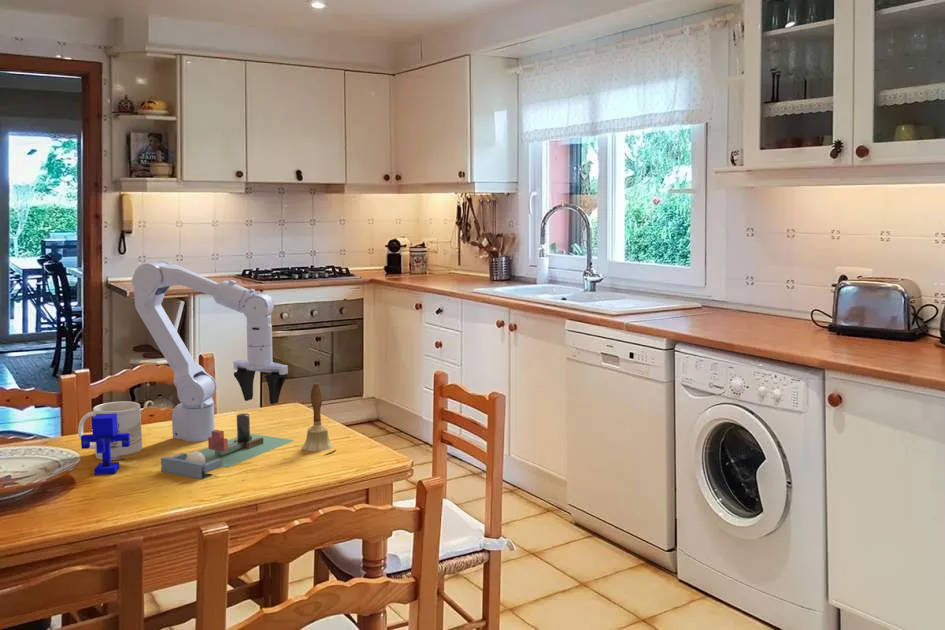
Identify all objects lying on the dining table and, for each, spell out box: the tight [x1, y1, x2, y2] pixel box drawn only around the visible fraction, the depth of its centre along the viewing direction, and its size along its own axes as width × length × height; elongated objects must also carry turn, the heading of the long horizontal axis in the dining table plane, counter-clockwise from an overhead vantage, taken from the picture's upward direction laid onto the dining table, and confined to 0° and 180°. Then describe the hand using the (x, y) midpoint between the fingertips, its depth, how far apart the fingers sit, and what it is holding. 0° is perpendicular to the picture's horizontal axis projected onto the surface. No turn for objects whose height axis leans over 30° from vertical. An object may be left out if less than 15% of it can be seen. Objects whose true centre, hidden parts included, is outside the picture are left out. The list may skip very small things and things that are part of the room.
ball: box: [186, 450, 205, 463], centre depth 179 cm, size 4×4×4 cm
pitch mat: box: [187, 433, 295, 468], centre depth 191 cm, size 14×23×1 cm, turn 155°
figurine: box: [80, 413, 130, 476], centre depth 177 cm, size 8×8×12 cm
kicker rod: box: [207, 413, 251, 456], centre depth 189 cm, size 4×11×7 cm, turn 155°
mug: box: [77, 400, 143, 461], centre depth 190 cm, size 10×12×11 cm
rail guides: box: [234, 436, 263, 449], centre depth 194 cm, size 4×5×1 cm
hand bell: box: [301, 382, 337, 457], centre depth 192 cm, size 8×8×16 cm
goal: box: [160, 452, 223, 480], centre depth 178 cm, size 11×6×3 cm, turn 65°
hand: (261, 401), depth 199 cm, fingers open, 7 cm apart
